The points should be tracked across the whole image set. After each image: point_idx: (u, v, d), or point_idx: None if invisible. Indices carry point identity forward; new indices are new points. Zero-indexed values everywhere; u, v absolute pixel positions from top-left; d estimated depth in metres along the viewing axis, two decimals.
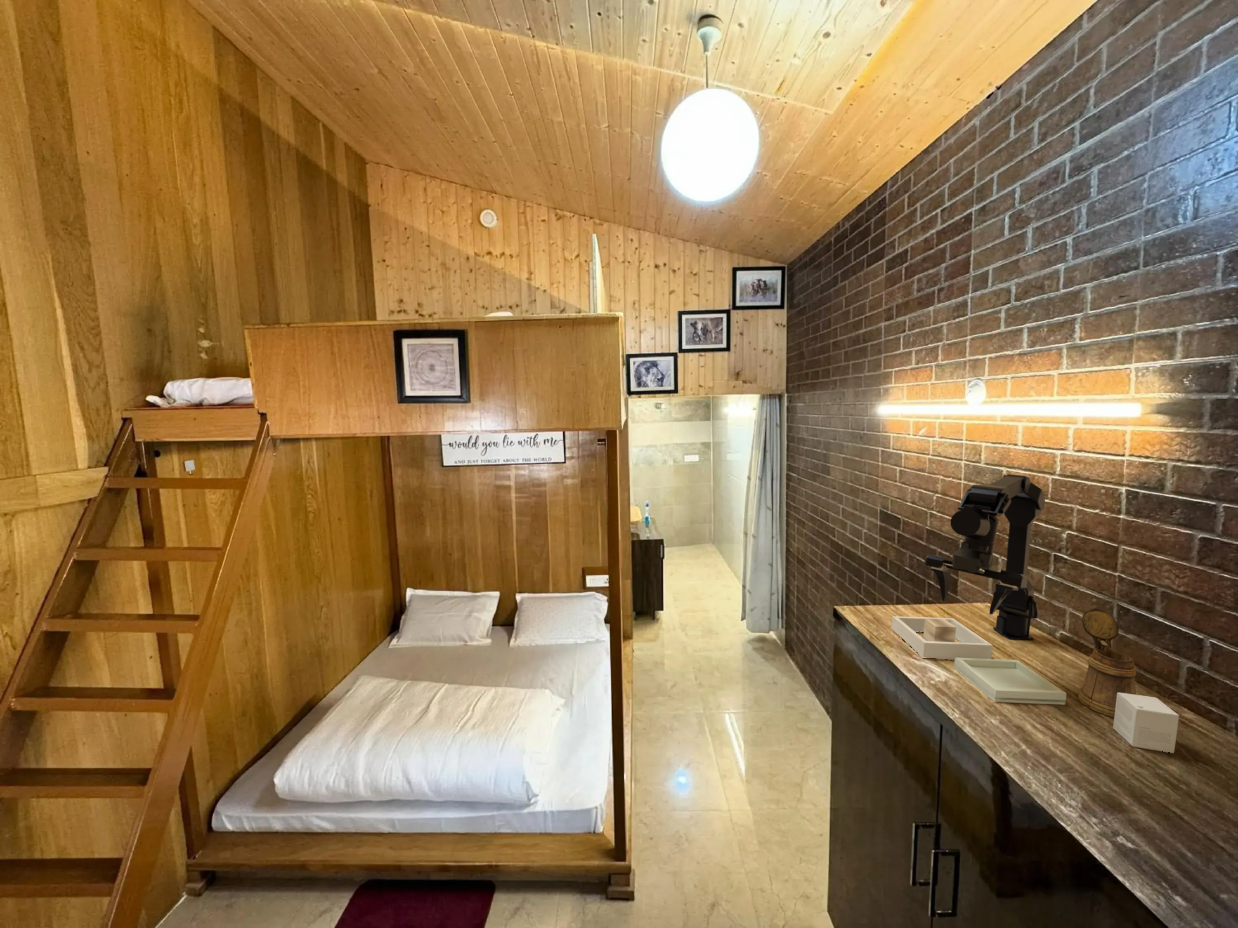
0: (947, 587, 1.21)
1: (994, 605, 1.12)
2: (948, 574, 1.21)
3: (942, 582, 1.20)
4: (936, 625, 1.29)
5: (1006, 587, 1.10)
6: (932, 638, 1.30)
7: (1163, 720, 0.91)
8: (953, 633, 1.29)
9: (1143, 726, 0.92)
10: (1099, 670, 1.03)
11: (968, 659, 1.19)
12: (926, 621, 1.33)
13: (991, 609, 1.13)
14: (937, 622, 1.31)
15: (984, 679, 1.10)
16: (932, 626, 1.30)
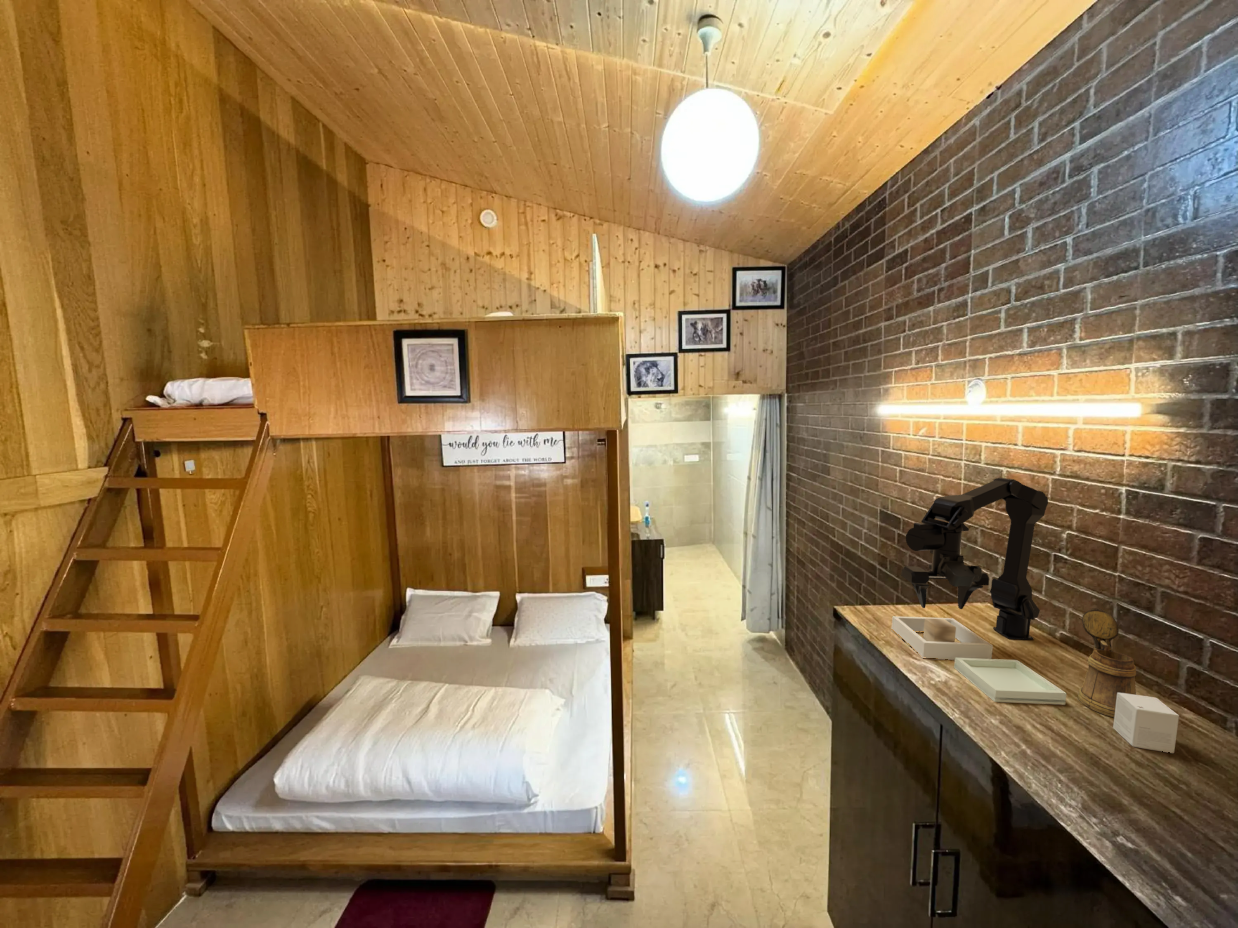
0: None
1: (965, 601, 1.29)
2: None
3: (924, 592, 1.29)
4: (936, 625, 1.29)
5: (979, 587, 1.27)
6: (932, 638, 1.30)
7: (1163, 720, 0.91)
8: (953, 633, 1.29)
9: (1143, 726, 0.92)
10: (1099, 670, 1.03)
11: (968, 659, 1.19)
12: (926, 621, 1.33)
13: (962, 605, 1.30)
14: (937, 622, 1.31)
15: (984, 679, 1.10)
16: (932, 626, 1.30)
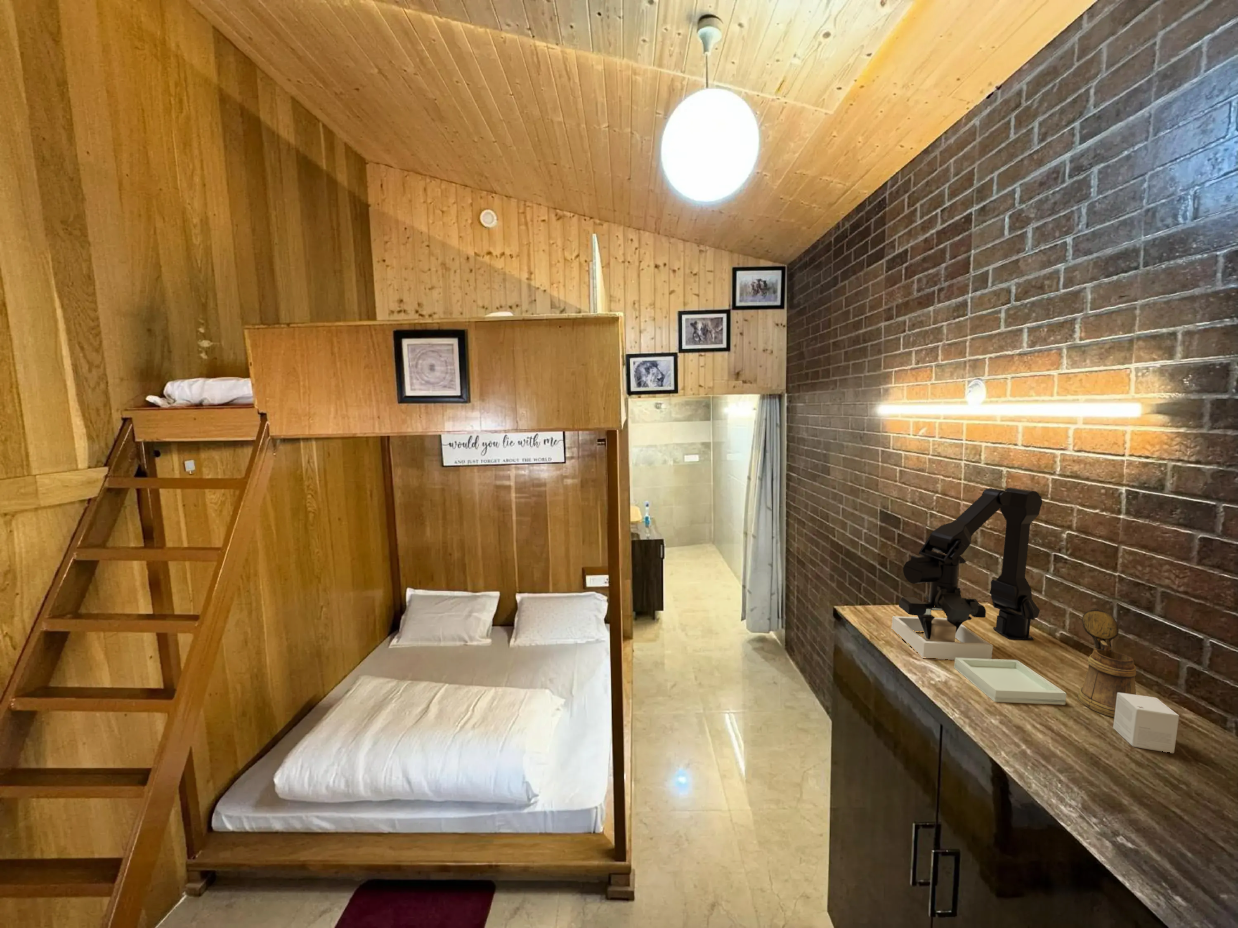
0: None
1: None
2: None
3: (929, 624, 1.30)
4: (936, 625, 1.29)
5: (968, 619, 1.28)
6: (932, 638, 1.30)
7: (1163, 720, 0.91)
8: (953, 633, 1.29)
9: (1143, 726, 0.92)
10: (1099, 670, 1.03)
11: (968, 659, 1.19)
12: None
13: None
14: (937, 621, 1.31)
15: (984, 679, 1.10)
16: (933, 626, 1.30)
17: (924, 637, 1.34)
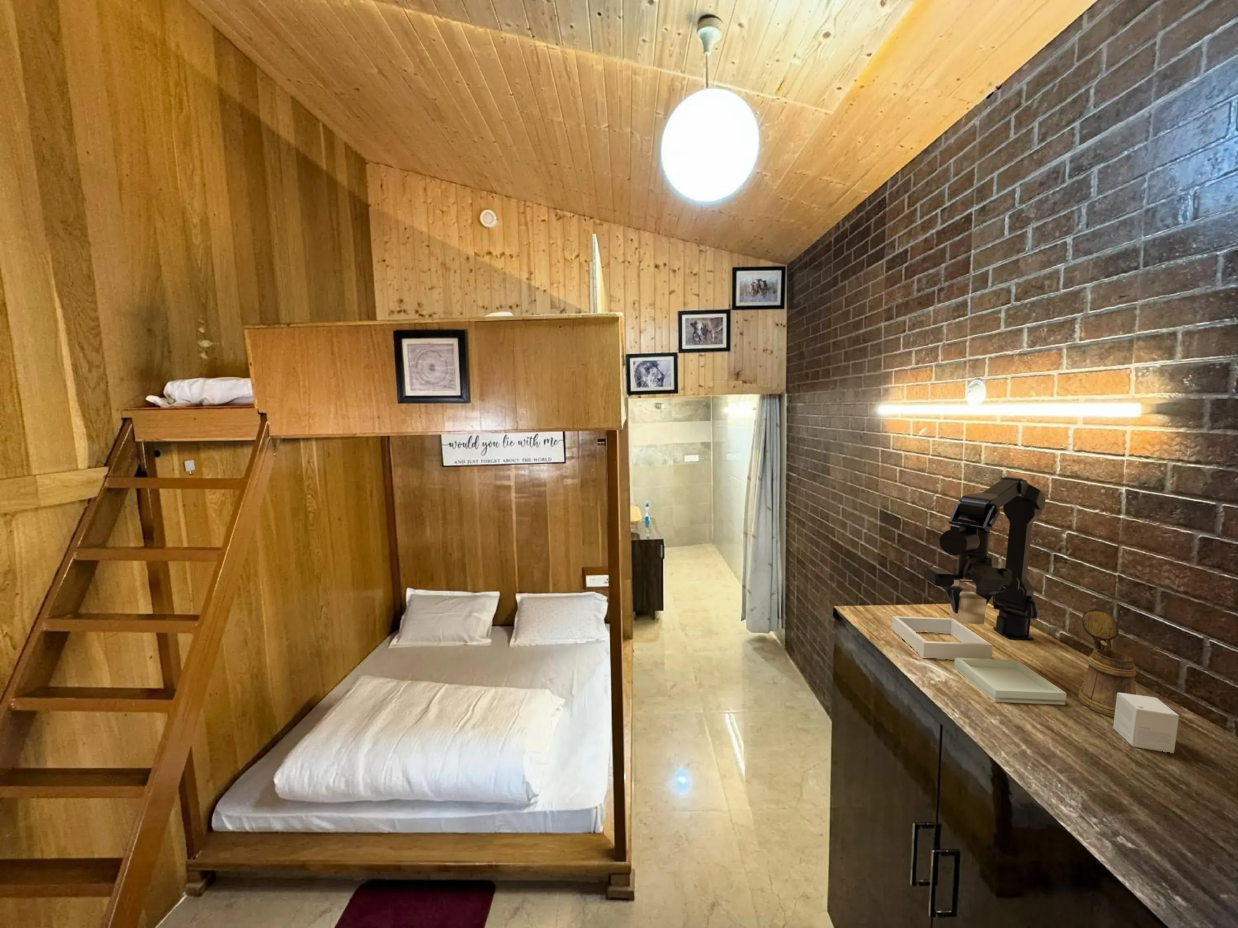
0: None
1: None
2: None
3: (956, 597, 1.21)
4: (965, 597, 1.20)
5: (1000, 591, 1.19)
6: (960, 612, 1.21)
7: (1163, 720, 0.91)
8: (983, 606, 1.20)
9: (1143, 726, 0.92)
10: (1099, 670, 1.03)
11: (968, 659, 1.19)
12: None
13: None
14: (966, 594, 1.23)
15: (984, 679, 1.10)
16: (961, 598, 1.21)
17: (951, 611, 1.25)
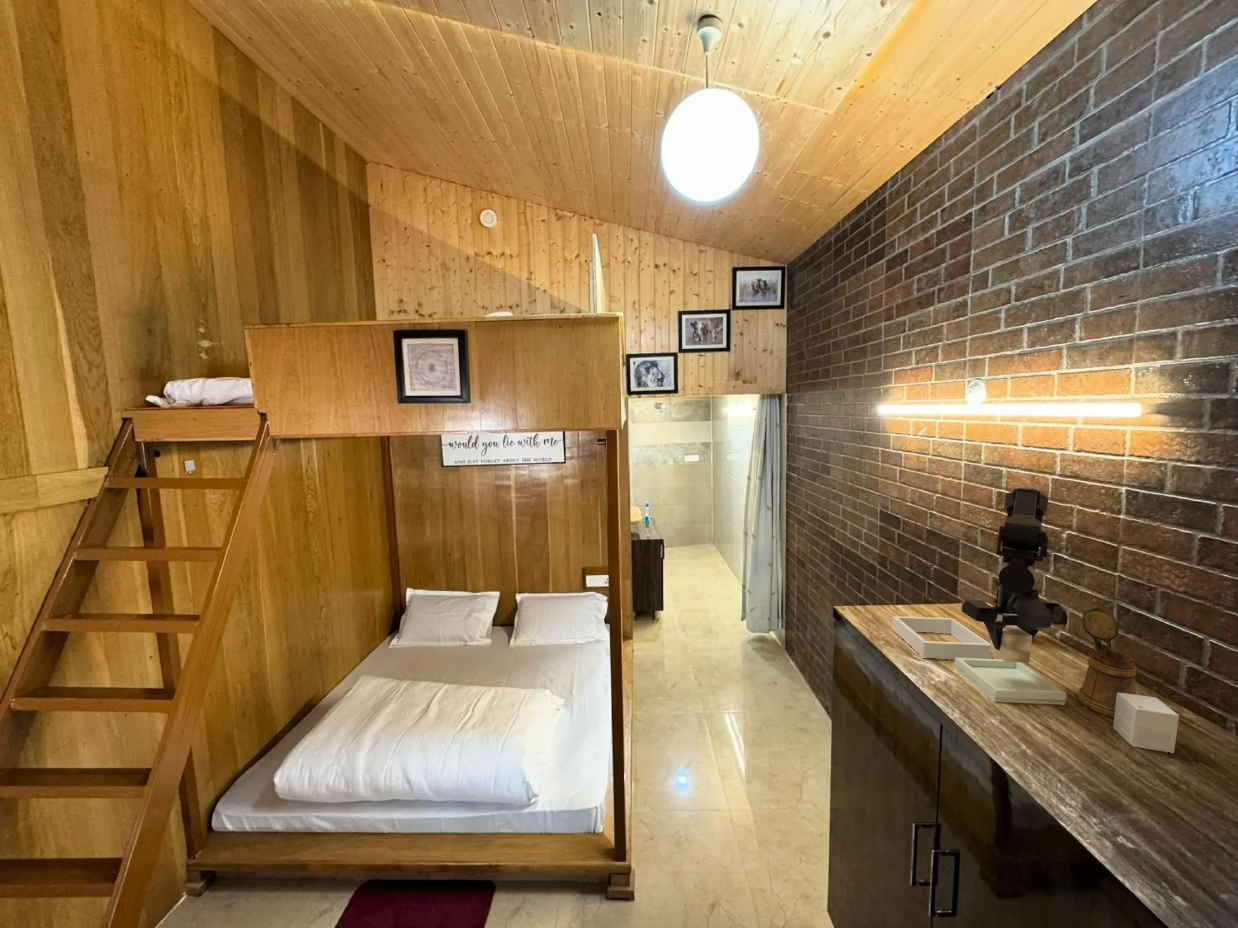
0: None
1: None
2: None
3: (999, 632, 1.10)
4: (1008, 633, 1.10)
5: None
6: (1003, 649, 1.10)
7: (1163, 720, 0.91)
8: (1029, 643, 1.09)
9: (1143, 726, 0.92)
10: (1099, 670, 1.03)
11: (968, 659, 1.19)
12: None
13: None
14: (1008, 629, 1.12)
15: (984, 679, 1.10)
16: (1004, 634, 1.10)
17: (991, 647, 1.14)
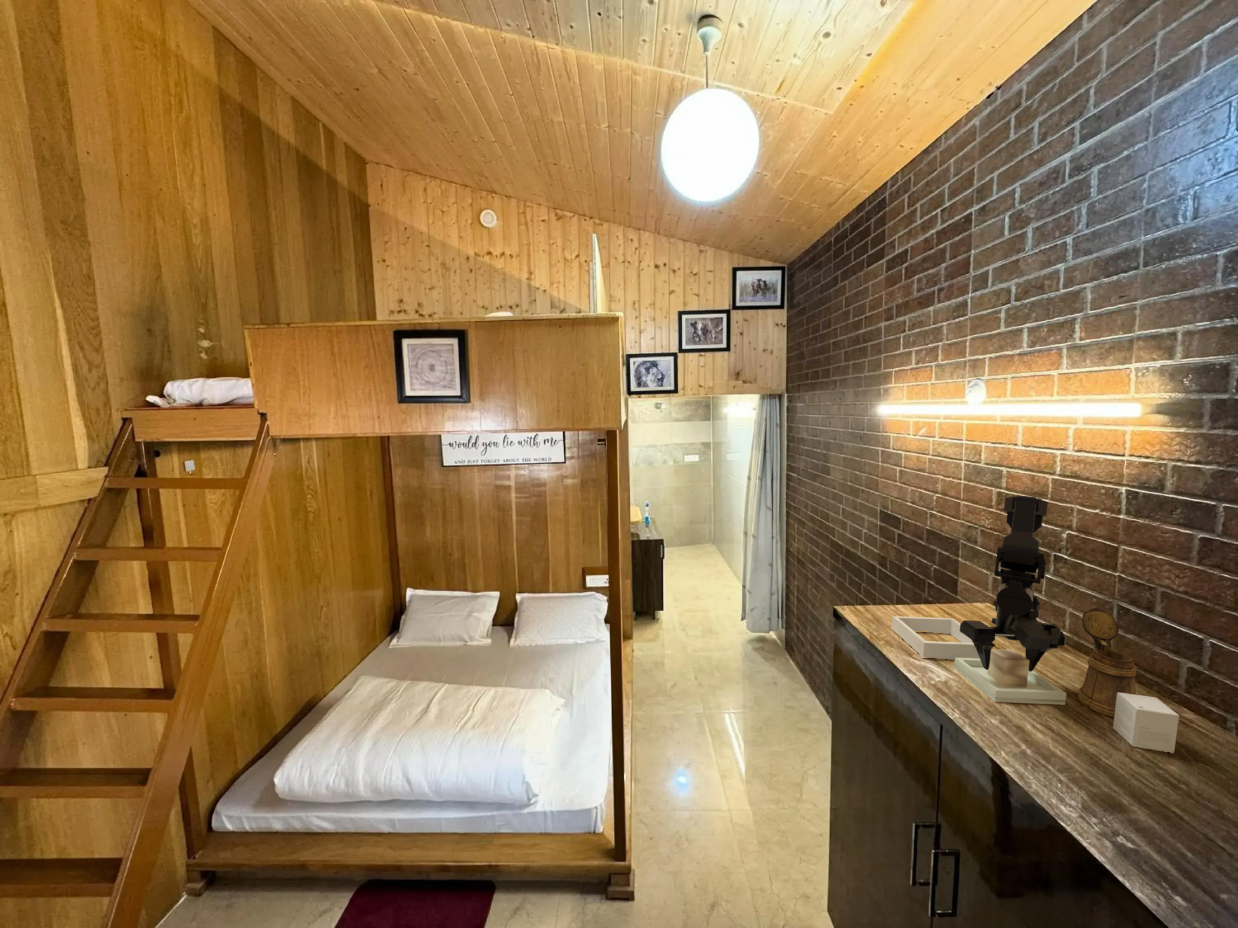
0: None
1: (1036, 663, 1.11)
2: None
3: (987, 652, 1.11)
4: (1005, 658, 1.10)
5: (1054, 647, 1.08)
6: (1001, 673, 1.11)
7: (1163, 720, 0.91)
8: (1026, 667, 1.10)
9: (1143, 726, 0.92)
10: (1099, 670, 1.03)
11: (968, 659, 1.19)
12: (992, 652, 1.14)
13: (1032, 667, 1.11)
14: (1005, 653, 1.12)
15: (984, 679, 1.10)
16: (1001, 659, 1.11)
17: (989, 671, 1.15)
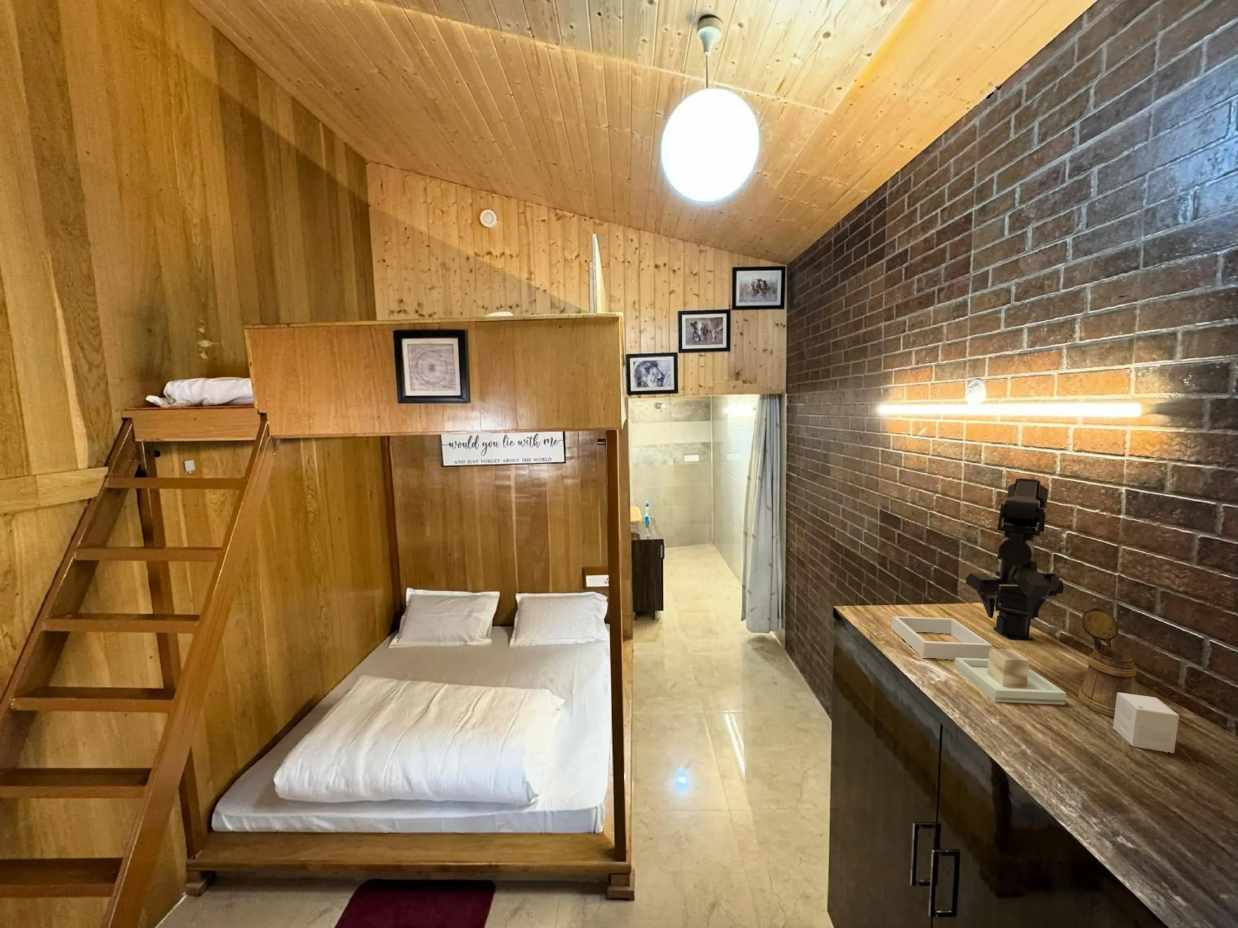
0: None
1: (1037, 611, 1.20)
2: None
3: (992, 602, 1.20)
4: (1005, 658, 1.10)
5: (1054, 595, 1.17)
6: (1001, 673, 1.11)
7: (1163, 720, 0.91)
8: (1026, 667, 1.10)
9: (1143, 726, 0.92)
10: (1099, 670, 1.03)
11: (968, 659, 1.19)
12: (992, 652, 1.14)
13: (1034, 614, 1.20)
14: (1005, 653, 1.12)
15: (984, 679, 1.10)
16: (1001, 659, 1.11)
17: (989, 671, 1.15)
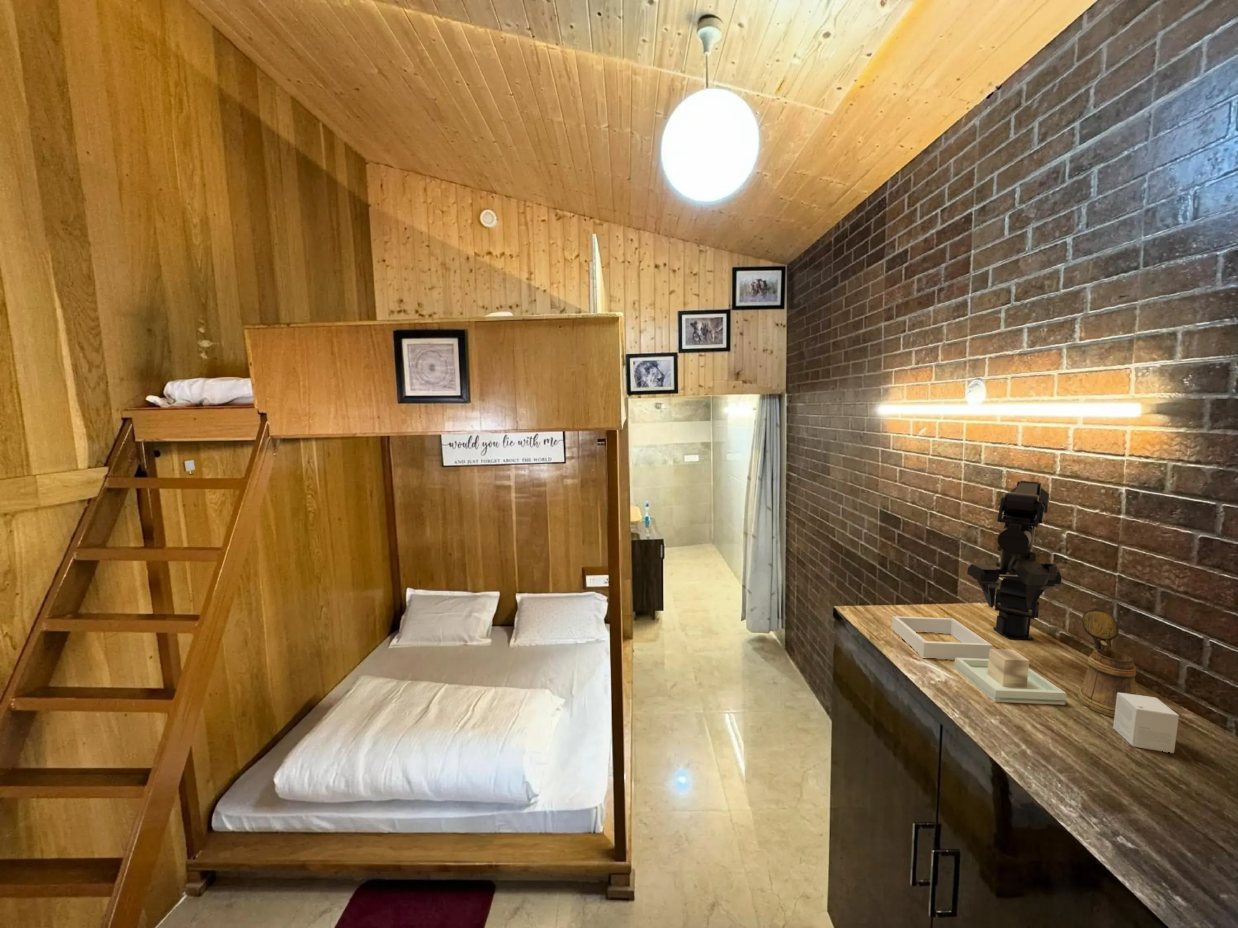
0: None
1: (1035, 601, 1.24)
2: None
3: (992, 591, 1.24)
4: (1005, 658, 1.10)
5: (1052, 586, 1.22)
6: (1001, 673, 1.11)
7: (1163, 720, 0.91)
8: (1026, 667, 1.10)
9: (1143, 726, 0.92)
10: (1099, 670, 1.03)
11: (968, 659, 1.19)
12: (992, 652, 1.14)
13: (1032, 604, 1.25)
14: (1005, 653, 1.12)
15: (984, 679, 1.10)
16: (1001, 659, 1.11)
17: (989, 671, 1.15)
